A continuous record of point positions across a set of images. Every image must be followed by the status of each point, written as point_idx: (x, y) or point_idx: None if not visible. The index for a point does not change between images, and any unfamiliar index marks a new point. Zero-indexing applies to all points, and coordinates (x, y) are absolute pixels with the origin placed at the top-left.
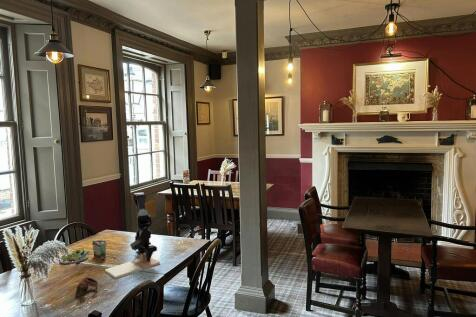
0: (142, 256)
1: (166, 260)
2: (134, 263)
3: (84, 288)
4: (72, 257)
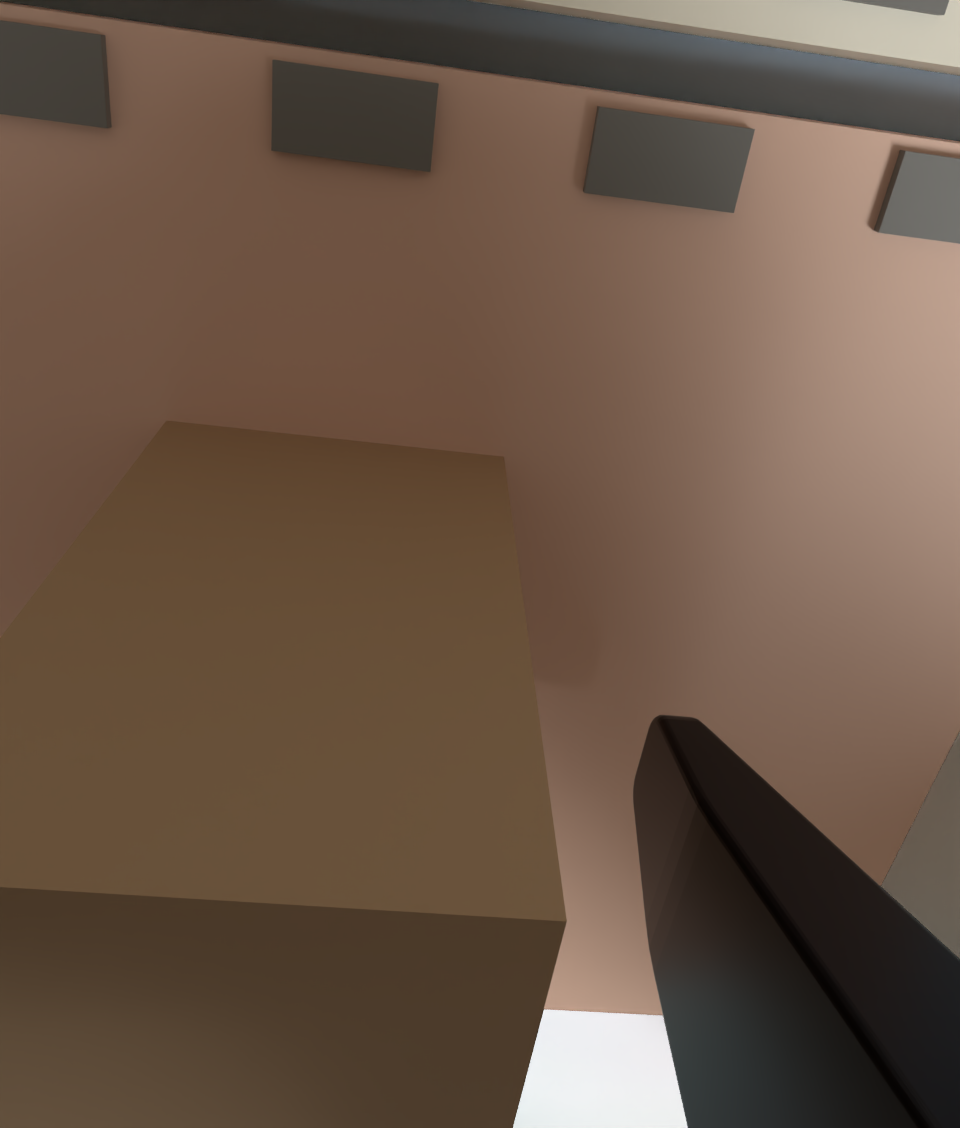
0: None
1: None
2: (699, 23)
3: None
4: None
